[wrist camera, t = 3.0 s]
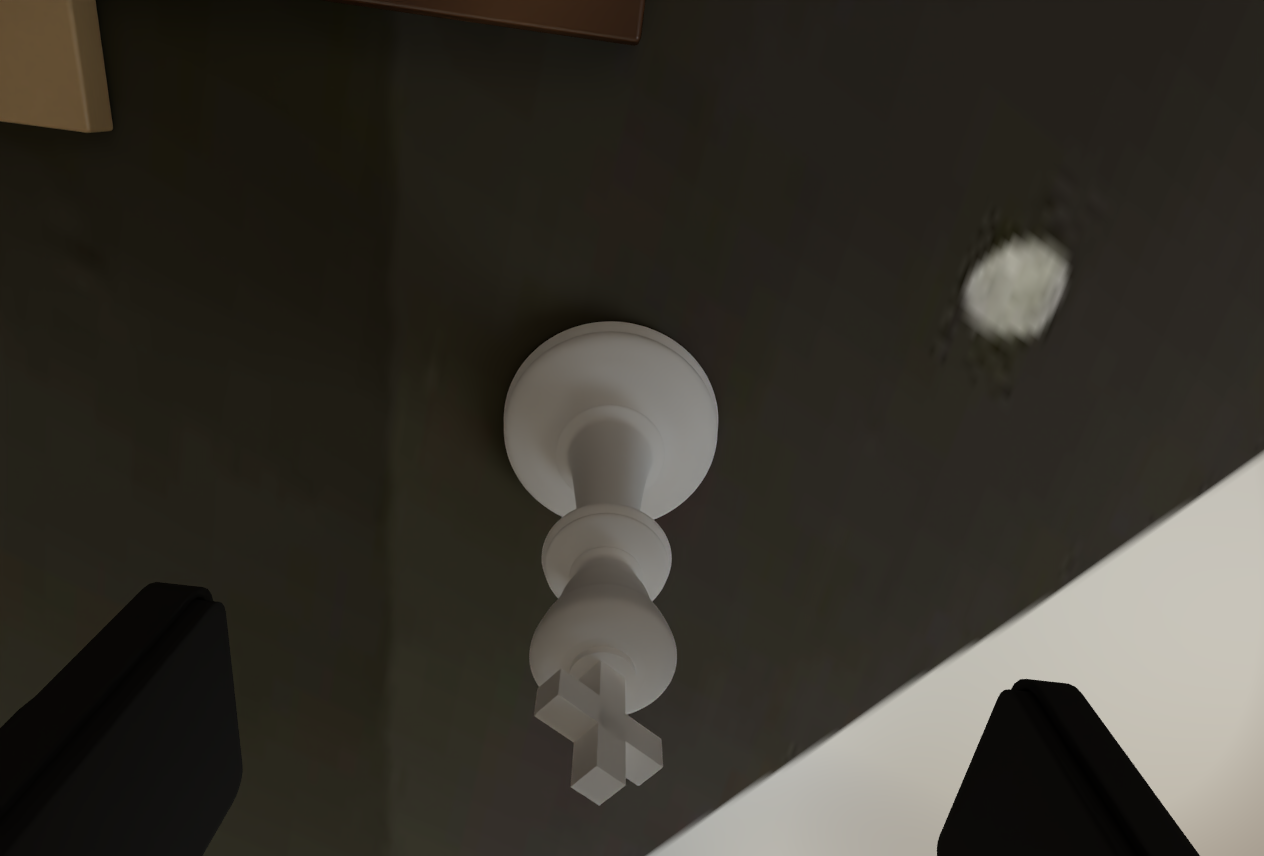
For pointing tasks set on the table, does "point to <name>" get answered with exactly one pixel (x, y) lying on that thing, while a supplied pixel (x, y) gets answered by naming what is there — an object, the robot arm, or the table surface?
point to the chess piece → (607, 529)
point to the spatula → (551, 3)
